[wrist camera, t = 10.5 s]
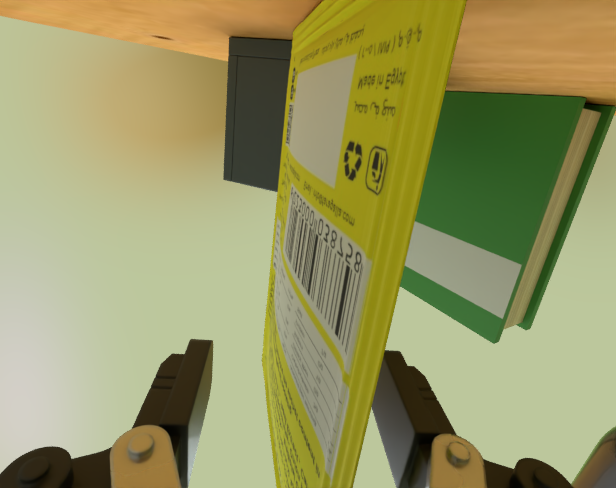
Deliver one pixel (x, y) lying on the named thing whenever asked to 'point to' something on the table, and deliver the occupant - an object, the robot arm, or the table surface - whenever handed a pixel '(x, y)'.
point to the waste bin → (256, 110)
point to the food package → (346, 219)
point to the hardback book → (500, 203)
